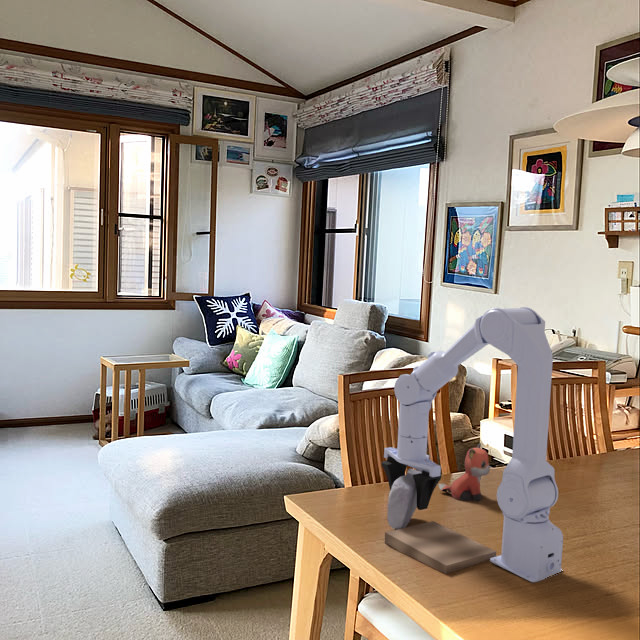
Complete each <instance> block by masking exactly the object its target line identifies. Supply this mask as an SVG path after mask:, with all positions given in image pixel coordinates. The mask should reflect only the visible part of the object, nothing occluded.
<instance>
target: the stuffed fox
mask: <svg viewBox="0 0 640 640" xmlns="http://www.w3.org/2000/svg"><path fill="white" fill-rule="evenodd" d="M481 446H482V443H481V442H479V443H478V444H477V446H476V447H472V448H469V449H468V451H467V452H466V455H465V459H464V469H465V472H464V473H463V474H462V475H460V476H459V477H458V478H456V479H455V480H454V481H452V483H451V484H450V485H447V484H446V483H438V484H437V485H438V488H439V490H440V491H441V492H444V493H447V494H449V495H450V494H451V496H452V498H453V499H455V500H461V501H465V502H466V501H471V502H472V501H473V502H481V501H482V500H483V499H482V491H481V482H480V481H481V480H482V479H481V478H482V476H487V475H488V474H489V473H490V469H491V468H490V463H489V453H488V452H487V451H486V450H485V449H483V448H481Z"/></svg>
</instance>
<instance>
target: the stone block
mask: <svg viewBox="0 0 640 640" xmlns="http://www.w3.org/2000/svg"><path fill="white" fill-rule="evenodd" d="M419 473H421V474H422V471H420V470H417V469H415V468H408V469H406V473H405V475H404V476H401V477H399V478H398V479H397V480H395V481H394V483H393V485H392V488H391V490H390V489H389V494H388V501H387V505H386V506H387V507H386V508H387V517H386V518H387V523H388V526H389V527H391V528H392V529H394V530H397V529H401V528H406V527H408V524H409V523H410V521H411V519H412V517H413V516H414V513H415V511H416V510H417V491H416V485H415V481H414V478H413V474H419Z"/></svg>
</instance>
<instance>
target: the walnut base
mask: <svg viewBox="0 0 640 640" xmlns="http://www.w3.org/2000/svg"><path fill="white" fill-rule="evenodd" d="M384 544H385V545H387V546H390V547H391V548H393V549H395V550H396V551H398V552H400V553H402V554H404V555H407V556H408V557H410V558H412V559H414V560H417V561H419V562H420V563H423V564H424V565H426V566H428V567H431V568H433V569H435V570H437V571H438V572H440V573H442V574H445V575H448V574H451V573H454V572H457V571H459V570H462V569H465V568H469V567H471V566H475V565H478V564H481V563H484V562H487V561H490V560H489V559H490V558H493V557H496V556H497V551H496V550H494V549H492V548H490V547H488V546H486V545H484V544H482V543H481V542H478V541H476V540H473V539H471V538H469V537H467V536H466V535H463V534H462V533H460V532H457V531H455V530H453V529H451V528H449V527H446V526H445V525H442V524H440V523H439V522H436V521H434V520H433V521H427V522H423V523H420V524H414V525H411V526H406V528H401V529H394V530H393V529H392V530H389V531H385V533H384Z"/></svg>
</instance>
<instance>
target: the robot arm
mask: <svg viewBox="0 0 640 640" xmlns="http://www.w3.org/2000/svg"><path fill="white" fill-rule="evenodd" d="M545 330H546V321H545V320H544V319H543V318H542V317H541V315H539V314H538V313H537V312H536V311H535V310H534V309H533V308H530V307H528V306H526V307H525V306H524V307H523V306H522V307H520V308H519V307H517V308H500V307H493V308H490V309H488V310H486V311H485V312H484V313H483V315H480V316H479V317H477V318H476V319H475V322H474V323H473V325H472V326H471V327H470V328H469V329H468V330H467V331H465V333H464V334H462V335H461V337H459V339H458V340H456V341H455V342H454V343H453V344H452V345H451V346H450V347H449V348H448V349H447V350H446V351H444V350H438V351H431V352H430V353H429V354H428V355H427V359H426V360H425V361H424V362H423V363H421V364H420V365H419V366H417V365H416V366H414V368H413V369H412V370H413V371H412V372H411V373H410V374H408V373H404V374H400V376H399V377H397V379H396V381H395V383H394V387H393V388H394V391H393V392H394V394H395V395H394V396H395V398H396V400H397V401H398V402H399V411H398V413H399V414H398V428H397V430H398V431H397V447H396V448H395V447H393V446H392V447H391V446H389V447H384V448H383V449H384V452H383V453H384V454H383V458H384V459H386V460H383V461H381V466H382V468H383V470H384V473H385V475H386V479H387V482H388V486H389V491H390V490H391V488H392V485H393V483H394V481H395V480H397V479H398V478H399V477H401V476H404V475H406V472H407V468H408V467H410V468H411V469H414V470H417V471H421V472H422V474H421V473H419V474H413V478H414V481H415V485H416V491H417V508H416V510H418V511H422V510H427V509H428V508H429V504H430V501H431V498H432V495H433V493H434V490H435V489H436V488H437V485H438V484H439V482H440V481H441V480H442V474H441V469H442V468H441V467H442V466H441V465H439V464H437V463H436V462H434V461H433V460H432V459H430V454H427V451H428V436H429V435H428V433H429V432H428V431H429V417H430V414H429V413H430V410H432V403H433V401H434V400H435V398H436V397H437V392H438V391H439V390H440V389H441V388H443V387H444V386H445V385H446V384H447V383H448V382H450V381H451V380H453V378H455V377H456V376H457V375H458V372H459V365H461V364H462V363H464V362H465V361H467V360H468V359H469V358H470V357H472V356H474V355H475V354H477V353H478V352H480V351H481V350H482V349H483V348H485V347H486V346H488V345H491V346H492V347H494V348H495V349H497V350H499V351H500V352H502V353H504V354H505V355H507V356H509V358H510V359H511V360H512V361H513V362H514V363H515V365H516V366H517V374H516V376H517V377H516V390H515V391H516V392H515V405H514V406H515V409H514V423H513V437H512V441H513V442H512V453H511V454H512V455H511V456H512V457H511V459H510V461H509V462H508V463H507V465H506V466H505V467H504V469H503V472H502V479H501V482H500V484H499V486H498V487H497V490H496V501H497V504H498V506H499V509H500V510H501V512H502V516H503V522H502V523H503V528H502V539H501V540H502V541H501V551H500V552H501V554H500V555H496V557H493V558H490V560H489V562H490V563H492V564H494V565H496V566H499V567H501V568H502V569H504V570H506V571H509V572H510V573H513V574H514V575H517V576H518V577H521V578H522V579H524V580H527V581H529V582H530V583H537V582H541V581H542V580H546V579H548V578H547V577H549V576H551V575H554V574H556V573H559V572H561V570H562V569H563V568H562V559H563V558H562V557H563V545H564V535H563V532H562V530H561V529H560V528H559V527H558V526H556V525H555V524H554V523H552V521H551V520H550V519H549V517H550V514H551V511H550V510H551V507H554V505H555V504H556V503H557V501H558V498H559V488H558V485H557V482H556V478H555V468H554V466H552V465H551V464H550V463H549V462H548V461H547V452H548V450H547V449H548V438H549V437H548V436H549V425H550V424H549V422H550V410H551V409H550V406H551V405H550V404H551V390H552V378H553V377H552V375H553V362H554V361H553V360H554V359H553V358H554V356H553V352H552V349H551V347H550V343H549V341H548V338H547V337H548V336H547V335H546V331H545ZM563 570H564V569H563ZM563 570H562V571H563ZM559 574H560V573H559ZM556 575H557V574H556ZM554 576H555V575H554ZM551 577H552V576H551ZM545 578H546V579H545ZM549 578H550V577H549Z"/></svg>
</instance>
